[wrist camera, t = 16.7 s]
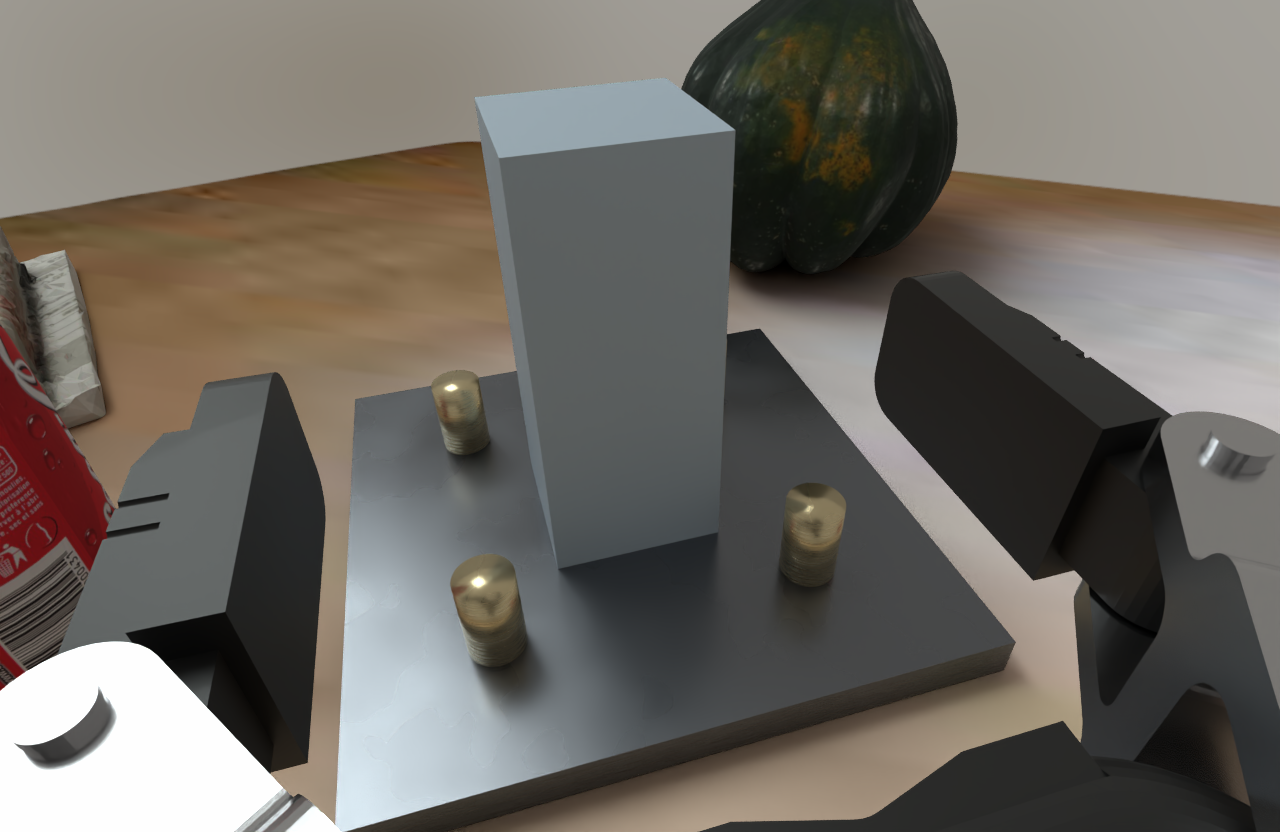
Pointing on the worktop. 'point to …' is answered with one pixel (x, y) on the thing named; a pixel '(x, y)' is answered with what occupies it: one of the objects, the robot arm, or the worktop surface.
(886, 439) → the worktop surface
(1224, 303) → the worktop surface
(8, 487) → the soda can
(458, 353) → the worktop surface
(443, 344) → the worktop surface
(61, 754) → the robot arm
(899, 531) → the plate
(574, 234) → the block
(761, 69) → the squash
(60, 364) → the packaged product
